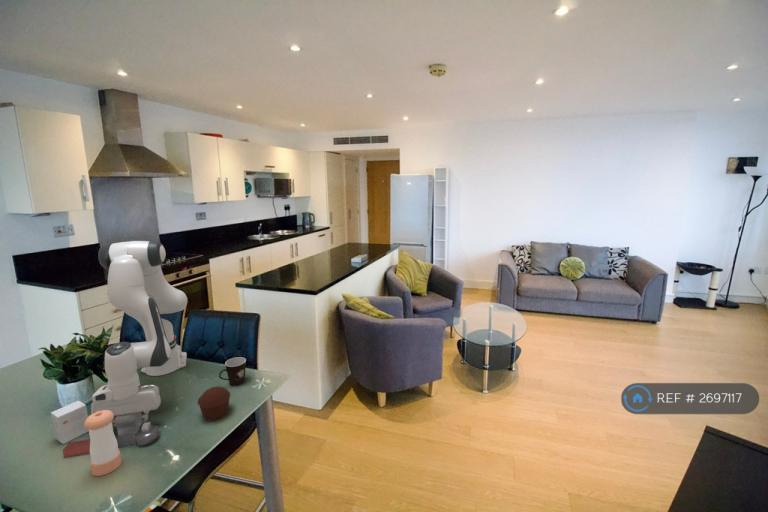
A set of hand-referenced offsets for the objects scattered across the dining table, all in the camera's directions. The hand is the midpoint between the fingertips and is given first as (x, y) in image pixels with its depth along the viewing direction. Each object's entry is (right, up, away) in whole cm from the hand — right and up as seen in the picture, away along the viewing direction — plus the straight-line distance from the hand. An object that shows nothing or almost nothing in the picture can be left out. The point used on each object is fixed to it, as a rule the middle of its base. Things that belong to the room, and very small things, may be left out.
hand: (129, 423), depth 123 cm
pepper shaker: (+5, -6, -16) cm, 18 cm away
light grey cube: (0, -2, 0) cm, 2 cm away
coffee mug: (+24, +3, +30) cm, 39 cm away
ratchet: (+1, -4, -8) cm, 9 cm away
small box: (-18, -3, -3) cm, 18 cm away
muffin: (+27, -1, +9) cm, 28 cm away
